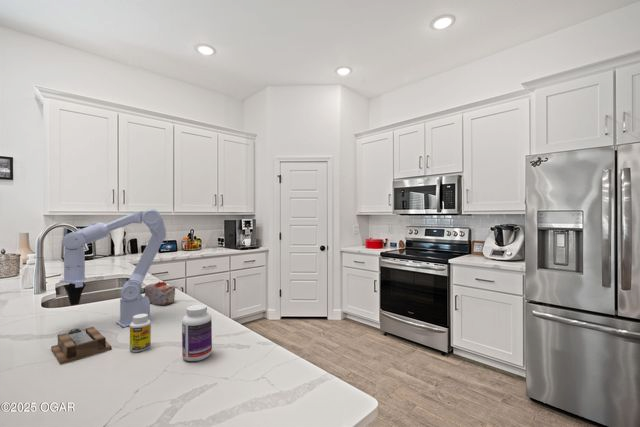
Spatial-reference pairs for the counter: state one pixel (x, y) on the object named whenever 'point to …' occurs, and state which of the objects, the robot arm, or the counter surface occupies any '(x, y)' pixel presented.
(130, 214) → the robot arm
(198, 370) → the counter surface
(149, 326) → the supplement bottle
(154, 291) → the food item
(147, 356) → the counter surface
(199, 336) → the pill bottle
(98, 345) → the housing
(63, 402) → the counter surface
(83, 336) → the door stop
